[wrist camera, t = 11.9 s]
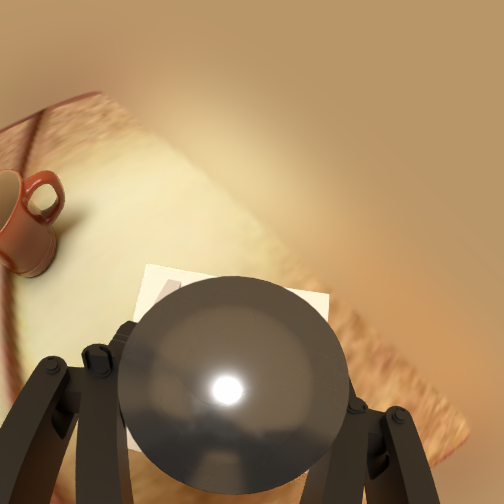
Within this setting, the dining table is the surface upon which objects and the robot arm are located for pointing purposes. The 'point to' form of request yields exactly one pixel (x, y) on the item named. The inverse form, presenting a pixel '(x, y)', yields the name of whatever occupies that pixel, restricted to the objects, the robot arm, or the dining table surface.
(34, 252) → the mug
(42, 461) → the robot arm
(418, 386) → the dining table surface
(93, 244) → the dining table surface
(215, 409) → the grey can
